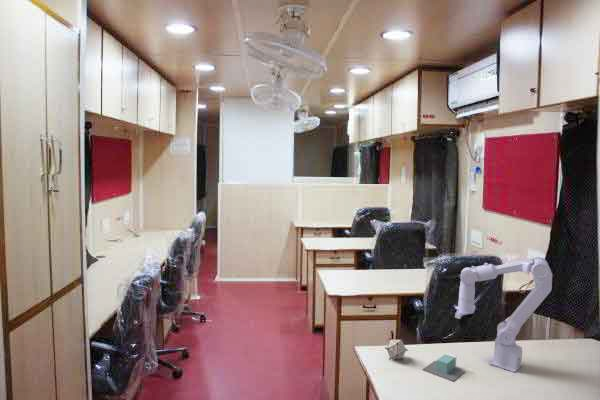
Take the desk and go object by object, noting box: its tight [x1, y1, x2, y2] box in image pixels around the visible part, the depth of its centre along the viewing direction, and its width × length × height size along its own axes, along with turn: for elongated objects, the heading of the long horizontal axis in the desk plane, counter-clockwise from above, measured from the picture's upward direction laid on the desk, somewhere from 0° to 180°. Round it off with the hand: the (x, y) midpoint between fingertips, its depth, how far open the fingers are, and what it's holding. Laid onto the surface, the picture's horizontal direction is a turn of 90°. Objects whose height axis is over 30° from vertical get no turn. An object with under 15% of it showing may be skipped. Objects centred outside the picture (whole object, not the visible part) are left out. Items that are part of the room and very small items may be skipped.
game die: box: [384, 337, 409, 362], centre depth 178 cm, size 9×8×10 cm
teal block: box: [436, 352, 458, 374], centre depth 171 cm, size 4×4×8 cm
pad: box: [422, 360, 466, 382], centre depth 169 cm, size 12×10×1 cm
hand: (463, 331), depth 181 cm, fingers closed
